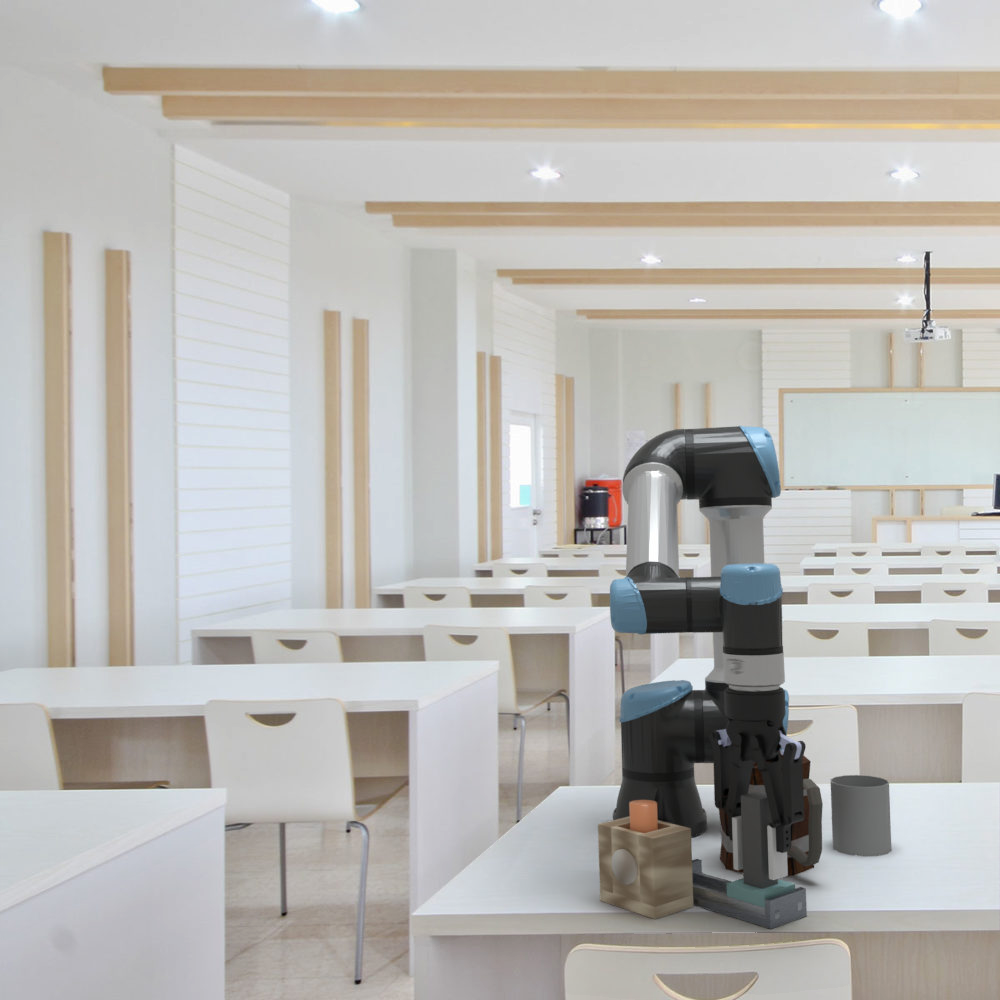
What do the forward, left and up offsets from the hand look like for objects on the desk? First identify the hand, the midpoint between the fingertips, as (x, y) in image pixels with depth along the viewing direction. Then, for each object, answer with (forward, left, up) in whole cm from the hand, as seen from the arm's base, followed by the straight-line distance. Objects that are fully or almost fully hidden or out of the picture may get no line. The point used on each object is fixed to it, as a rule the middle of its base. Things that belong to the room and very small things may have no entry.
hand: (760, 872), depth 147 cm
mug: (-11, +17, -6) cm, 21 cm away
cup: (-9, +34, -6) cm, 36 cm away
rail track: (-5, 0, -5) cm, 7 cm away
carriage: (0, 0, -3) cm, 3 cm away
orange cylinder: (-13, -7, 0) cm, 15 cm away
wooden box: (-13, -7, -5) cm, 16 cm away
